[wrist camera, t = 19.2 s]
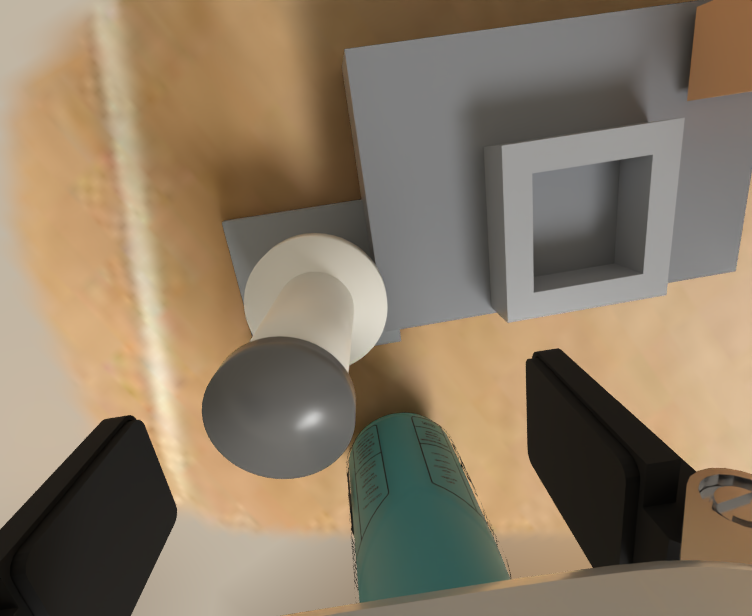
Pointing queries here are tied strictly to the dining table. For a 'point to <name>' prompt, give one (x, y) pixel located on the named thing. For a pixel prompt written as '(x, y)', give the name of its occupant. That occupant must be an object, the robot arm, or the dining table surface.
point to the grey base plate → (545, 166)
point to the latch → (721, 49)
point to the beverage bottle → (415, 513)
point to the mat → (268, 230)
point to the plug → (297, 358)
